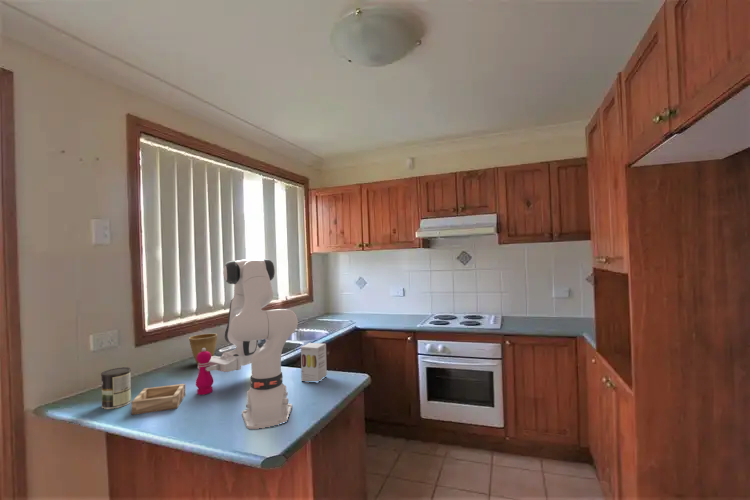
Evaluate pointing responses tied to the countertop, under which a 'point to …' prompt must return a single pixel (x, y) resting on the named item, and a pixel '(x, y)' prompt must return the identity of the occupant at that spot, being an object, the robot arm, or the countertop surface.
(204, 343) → the plant pot
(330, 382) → the countertop surface
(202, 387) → the pepper mill
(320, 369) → the supplement box
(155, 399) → the crate
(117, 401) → the coffee can
